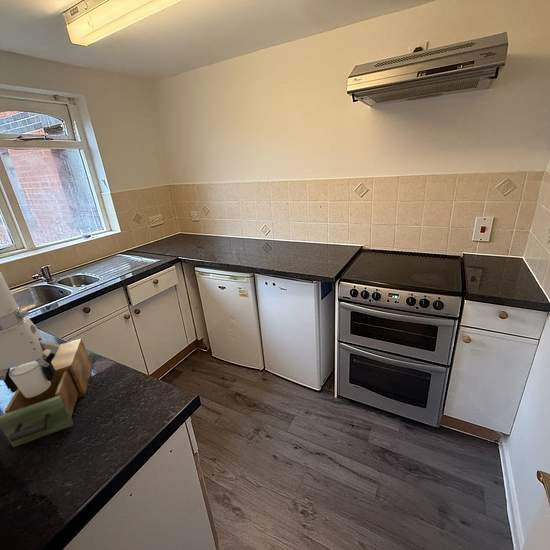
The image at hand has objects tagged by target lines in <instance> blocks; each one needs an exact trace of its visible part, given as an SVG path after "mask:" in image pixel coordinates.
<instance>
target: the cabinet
mask: <svg viewBox="0 0 550 550" xmlns="http://www.w3.org/2000/svg"><path fill="white" fill-rule="evenodd" d="M59 345H60V347H59V349H58V351H57V353H56V355H55V356H54V358H53V360H52V361H51V363H52V365H53V367H54V369H55V373H56V372H59V371H63V370H66V369H70V371H71V374H72V376H73V378H74V380H75V382H76V384H77V386H78V388H79V393H78V397H77V399H78V398H81V397H84V396H86V393H87V389H88V386H89V382H90V378H91V374H92V370H93V367H94V365H93V362H92V360H91V357H90V355H89V353H88V351H87V348H86V346H85V344H84V341H83V339H82V338H78V339H74V340H71V341H67V342H64V343H60V344H59ZM43 352H44V353H45V354H47V355H49V354H50V352H51V350H49V349H46V350H45V351H43Z"/></svg>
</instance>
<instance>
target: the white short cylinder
mask: <svg viewBox="0 0 550 550" xmlns="http://www.w3.org/2000/svg"><path fill="white" fill-rule="evenodd" d="M42 368H43V366H42V365H41V364H39V363H38V362H36V361H32V362H29V363H26V364H22V365H19V366H16V367H12V369H10V372H9V374H8V375H9V376H10V378H11V379H12V380H13V382H14V383H15V384H16V386H17V387H18V388H19V390H20V391H21V392H22V394H23V395H24V396H25V397H26V398H30V397H34V396H37V395H39V394H41V393H43V392H44V391H46V390H47V389H48V388H49V387H50V385H51V382H50V381H48V380H47V378H46V376H45V374H44V372H43V370H42Z"/></svg>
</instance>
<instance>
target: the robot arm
mask: <svg viewBox="0 0 550 550" xmlns="http://www.w3.org/2000/svg"><path fill="white" fill-rule="evenodd" d="M29 315H30V313H29V310H27V309H24V310H22V308H21V307H19V305H18V304H17V302H16V300H15V298H14V295H13V294H12V291H11V290H10V288H9V285H8V284H7V282H6V279H5V277H4V275H3V274H2V272H1V271H0V381H3V383H4V385H5V386H6V387H7V389H8V390H10V392H11V393H16V391H17V389H18V387H17V386H16V384H15V383H14V382H13V380H12V379H11V378H10V376H9V375H8V374H9V372H10V371H11V368H12V369H13V368H15V367H16V366H19V365H22V364H26V363H29V362H32V361H36V362H38V363H39V364H41V365H42V366H43V368H42V370H43V372H44V374H45V376H46V378H47V380H48V381H51V380H52V379H53V377H54V375H55V369H54V367H53V365H52V363H51V361H52V360H53V358H54V356H55V355H56V353H57V351H58V349H59V347H60V344H58V343H54V342H50V341H46V340H45V339H44V337H43V335H42V333H41V332H40V330H39V329H38V327H37V326H36V325H35V323H33V321H32V319H30V318H29V317H28V316H29ZM46 349H49V350H51V352H50V354H49V355H47V354H45V353H44V352H43V351H45V350H46Z"/></svg>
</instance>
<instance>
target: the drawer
mask: <svg viewBox="0 0 550 550" xmlns="http://www.w3.org/2000/svg"><path fill="white" fill-rule="evenodd" d="M50 382H51V385H50V387H49V388H48V389H47V390H46V391H44V392H43V393H41V394H39V395H37V396H34V397H30V398H26V397H25V396H24V395H23V394H22V392H21V391H20V390H19V388H18V389H17V391H16V392H14V394H13V396H12V397H11V399H10V401H9V403H8V405H7V406H6V408H5V410H4V413H3V414H0V429H1V431H2V432H3V434H4V435H5V437H6V439H7V440H8V442H9V443H10V445H11V447H12V448H16V447H19V446H21V445H24V444H27V443H30V442H32V441H35V440H38V439H41V438H43V437H46V436H49V435H51V434H54V433H57V432H59V431H61V430H65V429H67V428H70V427H73V426H74V420H73V419H72V417H73V414H74V410H75V406H76V403H77V400H78V398H79V397H78V393H79V388H78V386H77V384H76V382H75V380H74V378H73V376H72V374H71V371H70V369H66V370H63V371H59V372H56V373H55V375H54V377H53V379H52V380H51V381H50ZM77 397H78V398H77Z"/></svg>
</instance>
